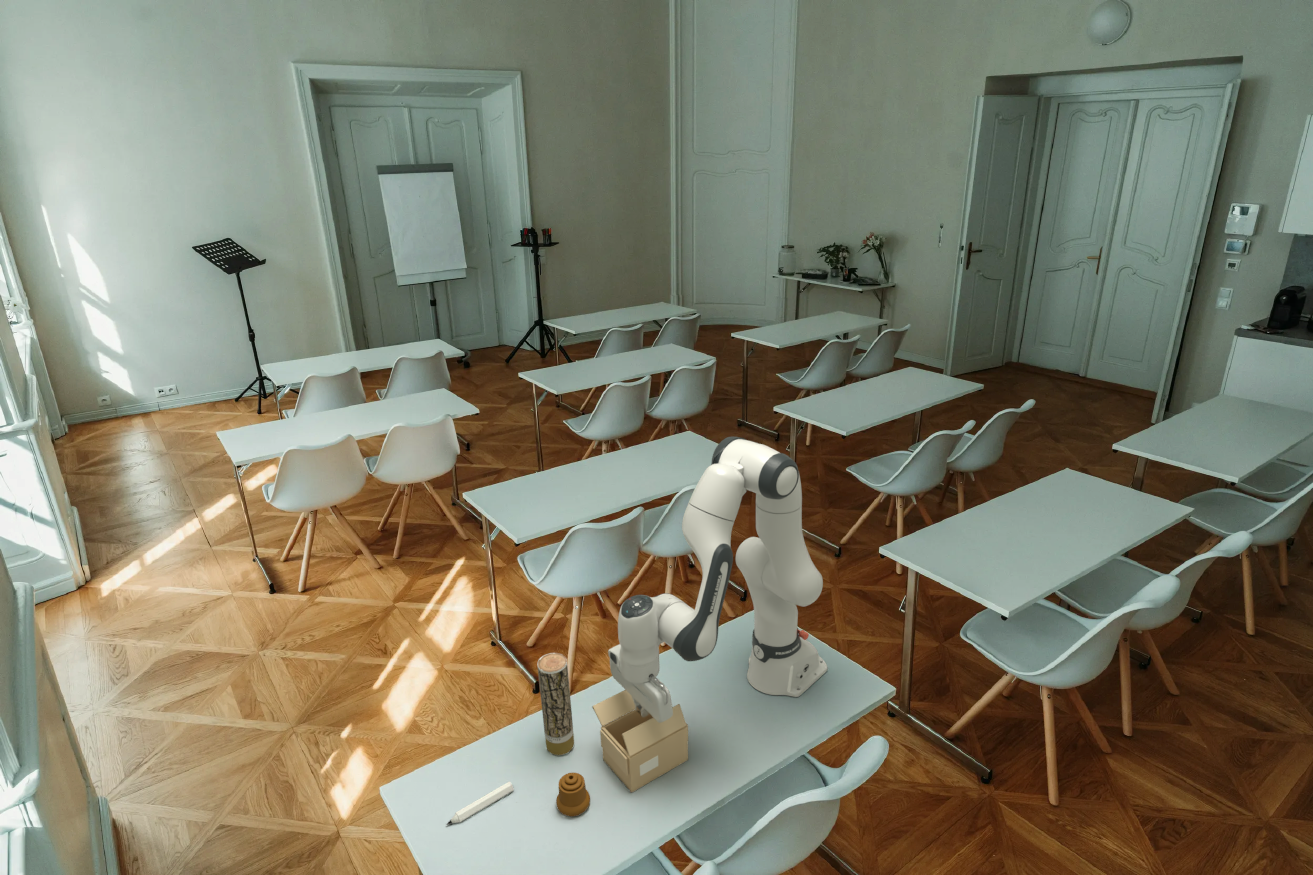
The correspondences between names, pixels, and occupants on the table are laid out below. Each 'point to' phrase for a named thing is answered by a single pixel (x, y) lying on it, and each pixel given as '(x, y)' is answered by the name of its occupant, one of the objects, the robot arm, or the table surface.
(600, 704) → the flap far
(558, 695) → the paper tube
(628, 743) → the flap near
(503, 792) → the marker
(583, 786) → the ornamental finial
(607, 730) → the carton
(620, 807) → the table surface
